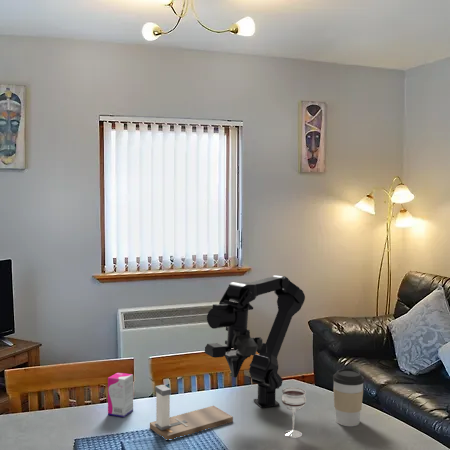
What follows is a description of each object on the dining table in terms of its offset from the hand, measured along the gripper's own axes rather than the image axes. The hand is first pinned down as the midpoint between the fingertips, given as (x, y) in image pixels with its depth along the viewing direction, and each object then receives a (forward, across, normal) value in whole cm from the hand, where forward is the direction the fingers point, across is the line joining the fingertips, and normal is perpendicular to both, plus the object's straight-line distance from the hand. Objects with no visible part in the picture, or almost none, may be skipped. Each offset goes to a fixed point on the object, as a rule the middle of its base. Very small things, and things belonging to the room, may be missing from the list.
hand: (234, 377), depth 161 cm
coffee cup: (+11, +28, -19) cm, 36 cm away
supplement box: (+14, -28, +19) cm, 37 cm away
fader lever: (+12, -22, 0) cm, 25 cm away
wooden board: (+13, -13, +1) cm, 18 cm away
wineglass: (+12, +10, -18) cm, 23 cm away
